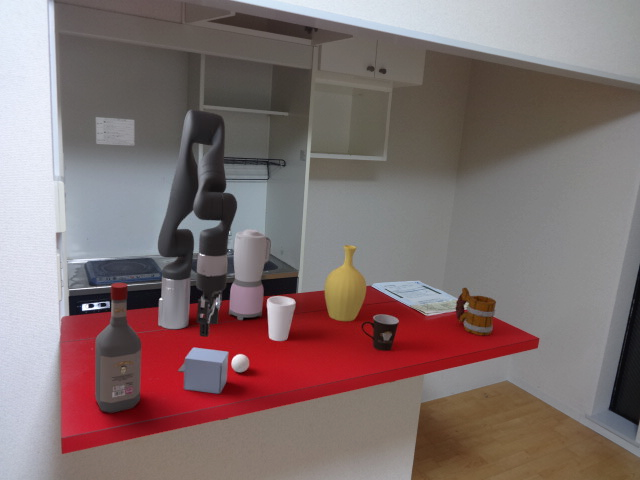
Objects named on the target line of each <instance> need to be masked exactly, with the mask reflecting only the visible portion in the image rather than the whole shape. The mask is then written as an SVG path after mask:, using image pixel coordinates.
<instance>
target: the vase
mask: <svg viewBox="0 0 640 480" xmlns="http://www.w3.org/2000/svg"><path fill="white" fill-rule="evenodd" d="M343 250H344V253H345V256H344V257H345V258H344V262H343V264H342V265H340V266H338V267H337V268H335V269H333V270H332V271H330V273H329V274H328V275H327V278H326V280H325V282H324V283H325V284H324V298H325V305H326V308H327V312H328V316H329V318H331V319H333V320H336V321H340V322H351V321H354V320H355V319H356V318H357V317H358V315H359V312H360V310H361V309H362V306H363V303H364V301H365V297H366V294H367V281H366V279H365V277H364V275H363V274H362V273H361V272H360V271H359V270H358V269H356V267H354V263H353V259H354V254H355V252H356V250H357V247H356V246H354V245H350V244H345V245H343Z"/></svg>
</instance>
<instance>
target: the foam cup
mask: <svg viewBox="0 0 640 480" xmlns="http://www.w3.org/2000/svg"><path fill="white" fill-rule="evenodd" d="M266 308H267V324H268V337H269V339H270V340H272V341H277V342H284V341H287V339H288V337H289V334H290V329H291V326H292V325H291V324H292V320H293V317H294V312H295V310H296V301H295V299H294V298H292V297H288V296H284V295H283V296H281V295H277V296H274V295H273V296H270V297H269V298H267V301H266Z"/></svg>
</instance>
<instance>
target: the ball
mask: <svg viewBox="0 0 640 480" xmlns="http://www.w3.org/2000/svg"><path fill="white" fill-rule="evenodd" d="M249 367H250V360H249V358H248V356H246V355H245V354H243V353H238V354H236V355H234V356H233V358H232V360H231V368H232V369H233V371H234V372H236V373H243V372H245V371H247V370H248V369H249Z"/></svg>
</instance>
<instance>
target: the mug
mask: <svg viewBox="0 0 640 480" xmlns="http://www.w3.org/2000/svg"><path fill="white" fill-rule="evenodd" d="M455 303H456V305H455V313H456V315H455V316H456V319H457V320H458V322H459V323H463V329H464V328H465V329H464V331H466V332H468V333H469V332H471V333H470V334H472V333H473V334H472V335H475V334H477V335H476V336H482V335H483V336H484V335H487V336H489V334H490V335H491V334H492V331H493V329H494V326H493V318H494V316H495V313H496V309H495V308H496V303H497V301H496V300H495V299H494V298H492V297H488V296H485V295H484V296H483V295H470V291H469V290H468V287H463V288H462V290H461V294H460V295H459V296H458V298H457V300H456V302H455ZM466 303H468V304H467V307H466V311H465V305H466Z"/></svg>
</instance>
